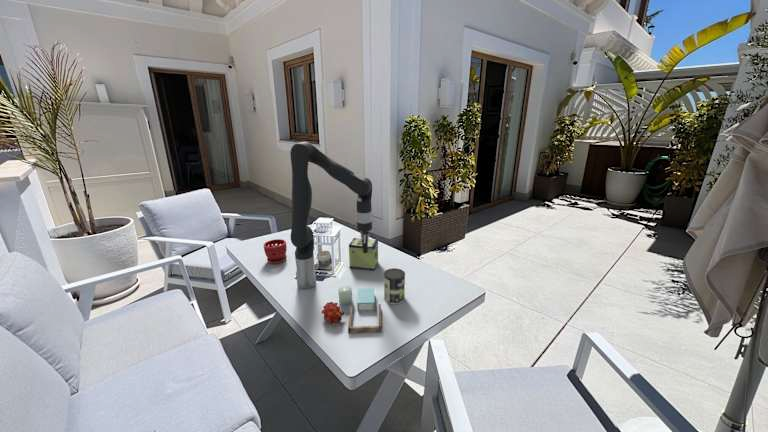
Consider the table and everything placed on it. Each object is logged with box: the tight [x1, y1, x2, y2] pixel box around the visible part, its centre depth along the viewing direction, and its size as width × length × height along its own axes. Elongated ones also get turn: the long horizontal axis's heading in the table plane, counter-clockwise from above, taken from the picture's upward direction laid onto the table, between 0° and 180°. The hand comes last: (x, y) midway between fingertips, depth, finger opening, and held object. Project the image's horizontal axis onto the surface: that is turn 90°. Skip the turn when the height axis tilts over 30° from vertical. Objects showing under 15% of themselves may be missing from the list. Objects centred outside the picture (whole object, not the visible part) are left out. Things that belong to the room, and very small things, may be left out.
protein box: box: [348, 237, 379, 271], centre depth 178 cm, size 10×16×16 cm
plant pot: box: [263, 238, 288, 264], centre depth 185 cm, size 13×13×12 cm
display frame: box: [347, 303, 382, 334], centre depth 133 cm, size 14×16×2 cm
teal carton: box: [356, 287, 376, 311], centre depth 145 cm, size 8×12×4 cm, turn 3°
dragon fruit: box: [321, 301, 345, 325], centre depth 133 cm, size 8×8×12 cm
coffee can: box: [383, 268, 406, 305], centre depth 146 cm, size 10×10×14 cm
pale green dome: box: [337, 285, 353, 307], centre depth 145 cm, size 6×6×7 cm
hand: (365, 252), depth 149 cm, fingers closed
